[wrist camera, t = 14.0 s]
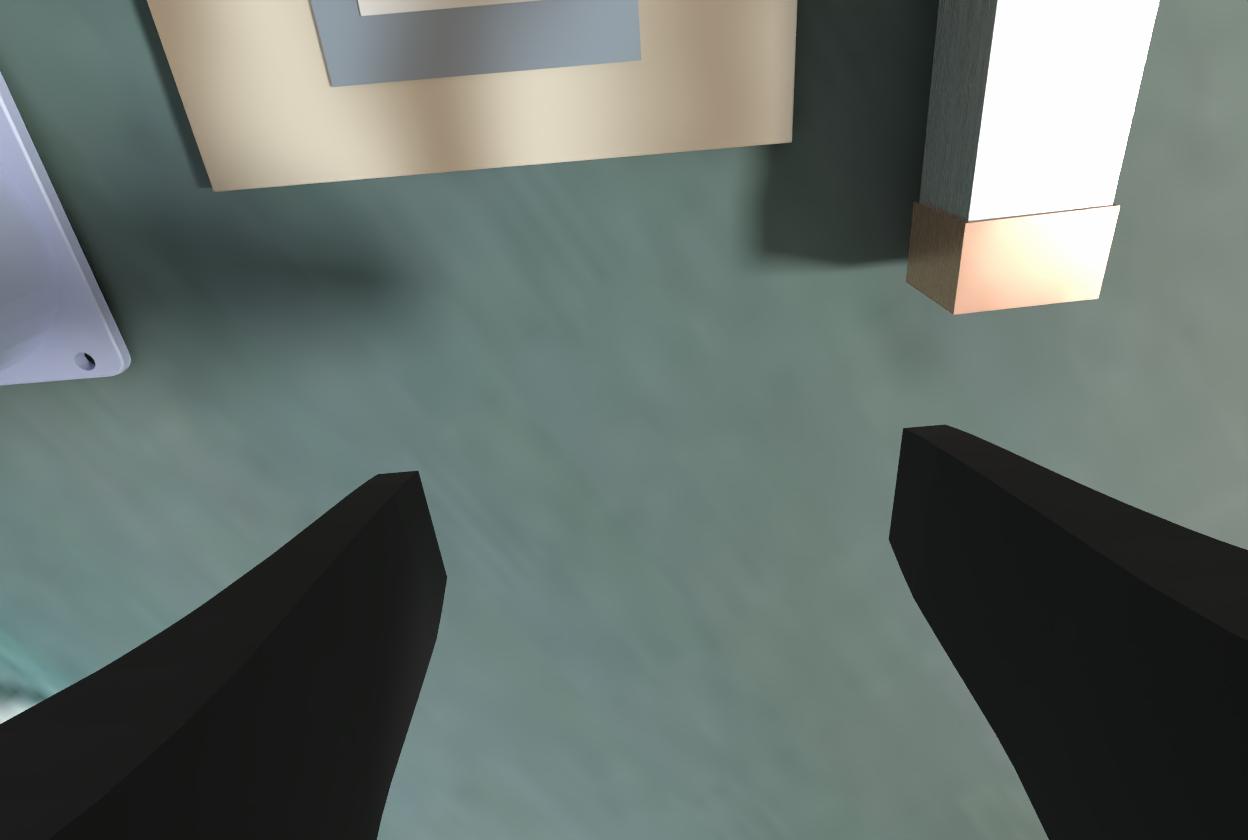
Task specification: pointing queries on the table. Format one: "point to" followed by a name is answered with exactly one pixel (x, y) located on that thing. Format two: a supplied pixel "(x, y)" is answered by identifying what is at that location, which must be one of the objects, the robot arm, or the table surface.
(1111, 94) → the light grey long piece
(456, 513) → the table surface
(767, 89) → the label board
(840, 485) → the table surface
